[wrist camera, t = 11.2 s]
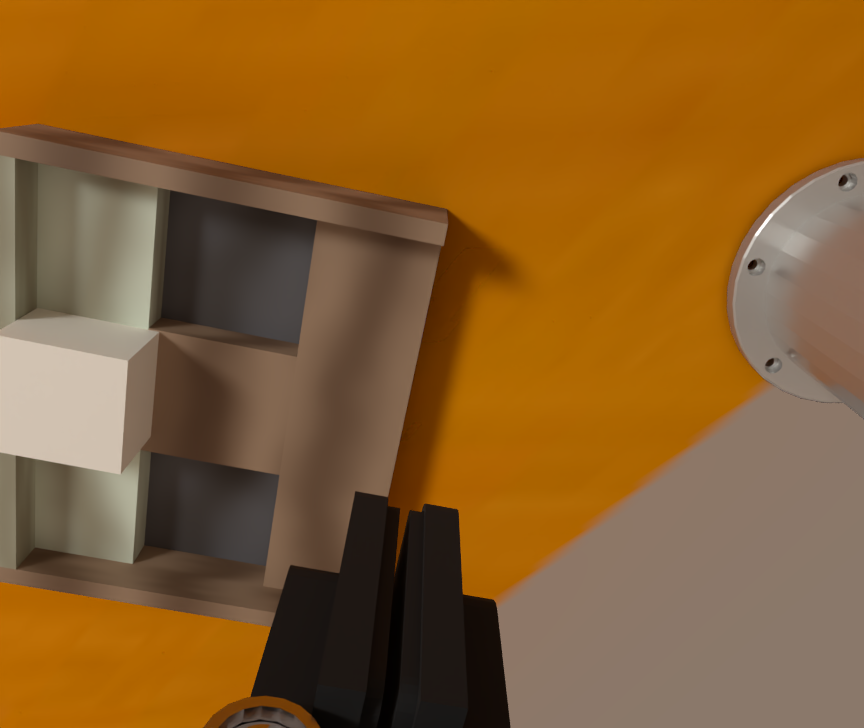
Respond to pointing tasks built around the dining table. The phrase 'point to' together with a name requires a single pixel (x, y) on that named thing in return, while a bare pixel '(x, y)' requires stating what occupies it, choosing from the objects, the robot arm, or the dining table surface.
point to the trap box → (212, 366)
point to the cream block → (76, 390)
